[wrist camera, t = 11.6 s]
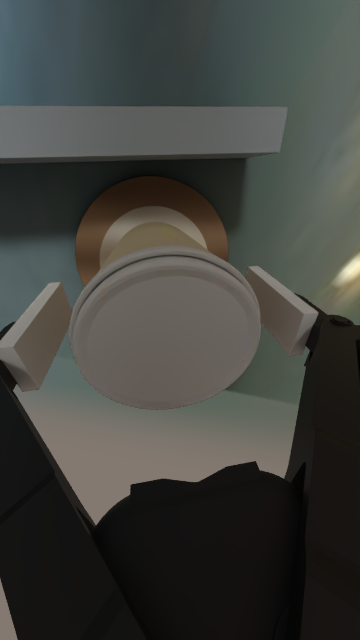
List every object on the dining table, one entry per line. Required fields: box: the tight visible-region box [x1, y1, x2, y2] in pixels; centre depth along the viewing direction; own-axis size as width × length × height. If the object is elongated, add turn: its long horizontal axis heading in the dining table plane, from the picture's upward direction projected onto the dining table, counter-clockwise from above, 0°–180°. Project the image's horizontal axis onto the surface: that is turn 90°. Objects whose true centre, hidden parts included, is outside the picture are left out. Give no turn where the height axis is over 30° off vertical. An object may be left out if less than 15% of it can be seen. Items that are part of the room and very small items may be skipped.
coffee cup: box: [69, 222, 261, 410], centre depth 15 cm, size 9×9×12 cm
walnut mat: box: [75, 176, 228, 287], centre depth 20 cm, size 14×14×1 cm
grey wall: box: [0, 106, 288, 164], centre depth 13 cm, size 2×22×5 cm, turn 92°
